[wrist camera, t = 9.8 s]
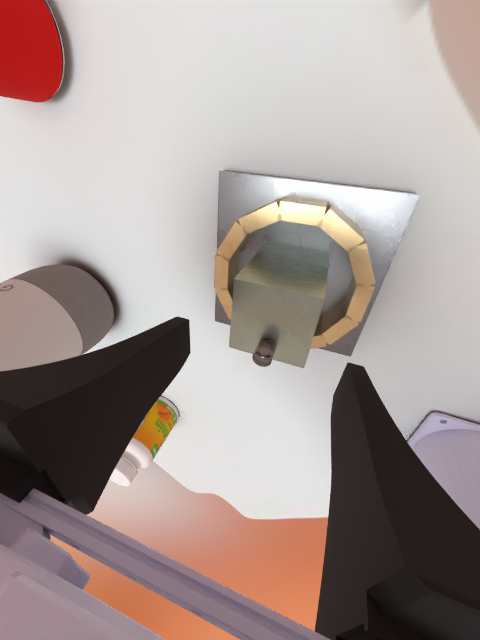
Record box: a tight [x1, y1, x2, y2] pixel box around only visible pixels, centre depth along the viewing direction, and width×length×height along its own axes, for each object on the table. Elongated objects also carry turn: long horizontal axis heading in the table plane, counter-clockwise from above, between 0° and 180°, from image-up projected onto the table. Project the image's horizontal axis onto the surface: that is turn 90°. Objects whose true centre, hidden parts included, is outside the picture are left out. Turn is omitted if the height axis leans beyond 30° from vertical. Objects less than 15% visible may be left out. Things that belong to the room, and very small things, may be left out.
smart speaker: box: [0, 265, 114, 371], centre depth 23 cm, size 10×9×14 cm
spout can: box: [229, 241, 330, 368], centre depth 16 cm, size 4×4×8 cm
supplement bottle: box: [109, 396, 179, 486], centre depth 32 cm, size 5×5×10 cm
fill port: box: [214, 170, 420, 356], centre depth 18 cm, size 12×12×4 cm
